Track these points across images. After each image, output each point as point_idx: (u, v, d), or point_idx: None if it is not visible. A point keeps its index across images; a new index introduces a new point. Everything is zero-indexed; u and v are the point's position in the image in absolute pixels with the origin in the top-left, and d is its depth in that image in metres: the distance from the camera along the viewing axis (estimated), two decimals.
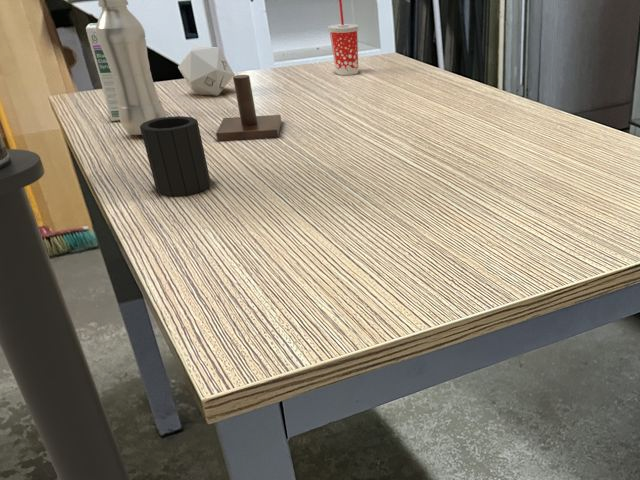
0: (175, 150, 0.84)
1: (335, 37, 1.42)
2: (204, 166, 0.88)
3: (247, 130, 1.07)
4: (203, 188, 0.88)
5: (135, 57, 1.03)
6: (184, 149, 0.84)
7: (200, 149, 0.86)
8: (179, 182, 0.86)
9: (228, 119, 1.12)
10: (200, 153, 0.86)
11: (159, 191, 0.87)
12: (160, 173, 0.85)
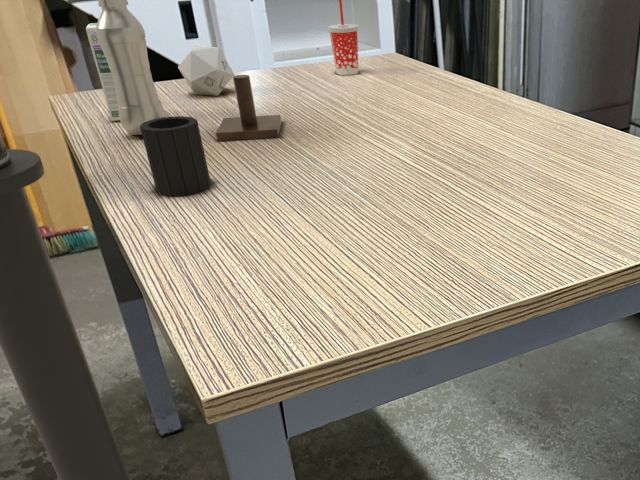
0: (175, 150, 0.84)
1: (335, 37, 1.42)
2: (204, 166, 0.88)
3: (247, 130, 1.07)
4: (203, 188, 0.88)
5: (135, 57, 1.03)
6: (184, 149, 0.84)
7: (200, 149, 0.86)
8: (179, 182, 0.86)
9: (228, 119, 1.12)
10: (200, 153, 0.86)
11: (159, 191, 0.87)
12: (160, 173, 0.85)
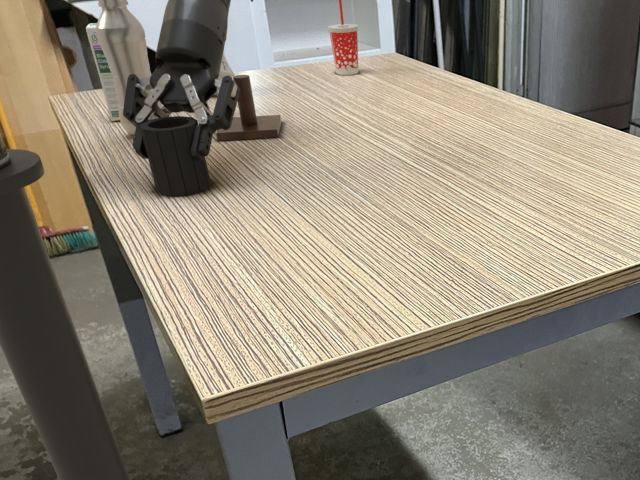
0: (175, 150, 0.84)
1: (335, 37, 1.42)
2: (204, 166, 0.88)
3: (247, 130, 1.07)
4: (203, 188, 0.88)
5: (135, 57, 1.03)
6: (184, 149, 0.84)
7: None
8: (179, 182, 0.86)
9: None
10: None
11: (159, 191, 0.87)
12: (160, 173, 0.85)
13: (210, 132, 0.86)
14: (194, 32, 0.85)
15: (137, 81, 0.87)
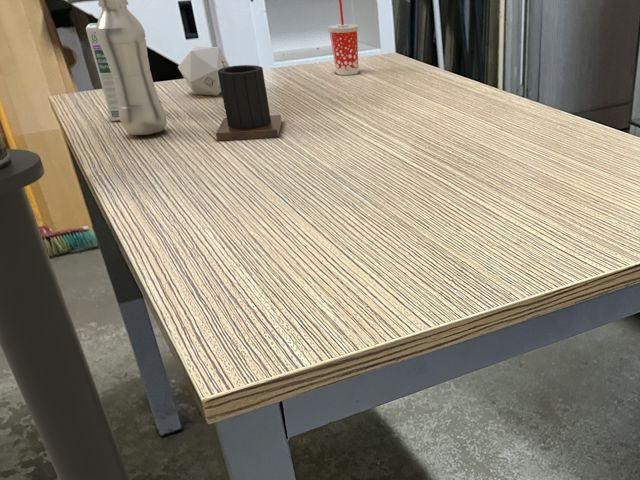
0: (246, 90, 1.05)
1: (335, 37, 1.42)
2: (267, 105, 1.09)
3: (247, 130, 1.07)
4: (266, 123, 1.09)
5: (135, 57, 1.03)
6: (253, 90, 1.05)
7: (264, 91, 1.07)
8: (248, 117, 1.07)
9: None
10: (264, 94, 1.08)
11: (231, 125, 1.08)
12: (233, 109, 1.06)
13: None
14: None
15: None
